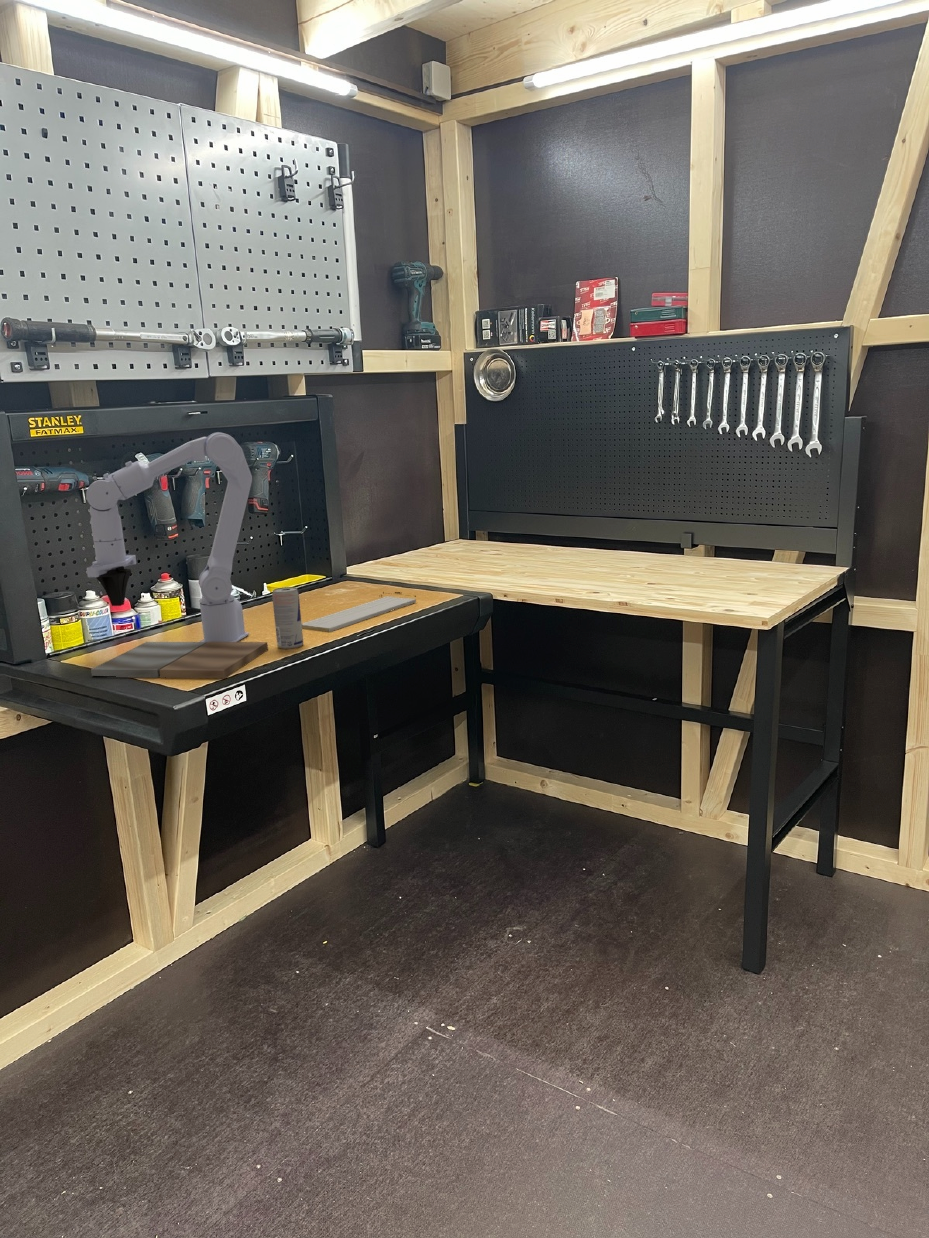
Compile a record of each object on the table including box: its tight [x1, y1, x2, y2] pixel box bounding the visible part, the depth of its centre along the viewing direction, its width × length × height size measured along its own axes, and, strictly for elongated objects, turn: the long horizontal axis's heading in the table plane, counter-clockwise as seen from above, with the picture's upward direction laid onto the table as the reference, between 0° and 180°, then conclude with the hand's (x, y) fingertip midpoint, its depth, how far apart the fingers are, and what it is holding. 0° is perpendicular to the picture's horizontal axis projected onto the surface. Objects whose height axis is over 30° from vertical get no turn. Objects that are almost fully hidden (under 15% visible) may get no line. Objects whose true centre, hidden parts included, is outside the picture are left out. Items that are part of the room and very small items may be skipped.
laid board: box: [159, 641, 269, 680], centre depth 181 cm, size 20×13×2 cm, turn 168°
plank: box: [90, 641, 207, 679], centre depth 184 cm, size 20×14×2 cm
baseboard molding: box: [301, 591, 417, 633], centre depth 217 cm, size 31×3×12 cm
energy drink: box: [271, 586, 304, 650], centre depth 190 cm, size 5×5×12 cm
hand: (118, 605), depth 190 cm, fingers closed
